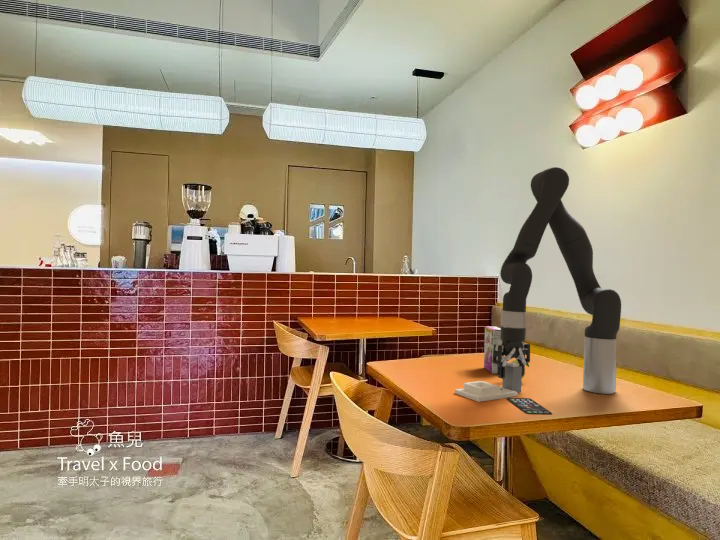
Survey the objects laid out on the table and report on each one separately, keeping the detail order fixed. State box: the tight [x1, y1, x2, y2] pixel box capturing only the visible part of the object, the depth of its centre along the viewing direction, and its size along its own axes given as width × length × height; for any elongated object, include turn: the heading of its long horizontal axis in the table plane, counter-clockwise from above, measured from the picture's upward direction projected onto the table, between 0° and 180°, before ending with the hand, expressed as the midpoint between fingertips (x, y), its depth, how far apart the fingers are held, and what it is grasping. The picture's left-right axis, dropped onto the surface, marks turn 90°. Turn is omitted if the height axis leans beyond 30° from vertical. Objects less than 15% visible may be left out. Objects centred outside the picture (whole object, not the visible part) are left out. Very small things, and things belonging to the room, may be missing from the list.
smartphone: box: [506, 397, 553, 416], centre depth 132 cm, size 7×1×15 cm
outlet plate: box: [454, 380, 519, 403], centre depth 143 cm, size 16×10×3 cm, turn 120°
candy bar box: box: [483, 325, 503, 375], centre depth 179 cm, size 11×5×16 cm, turn 179°
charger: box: [501, 361, 523, 394], centre depth 148 cm, size 4×4×9 cm
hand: (510, 377), depth 148 cm, fingers open, 8 cm apart
